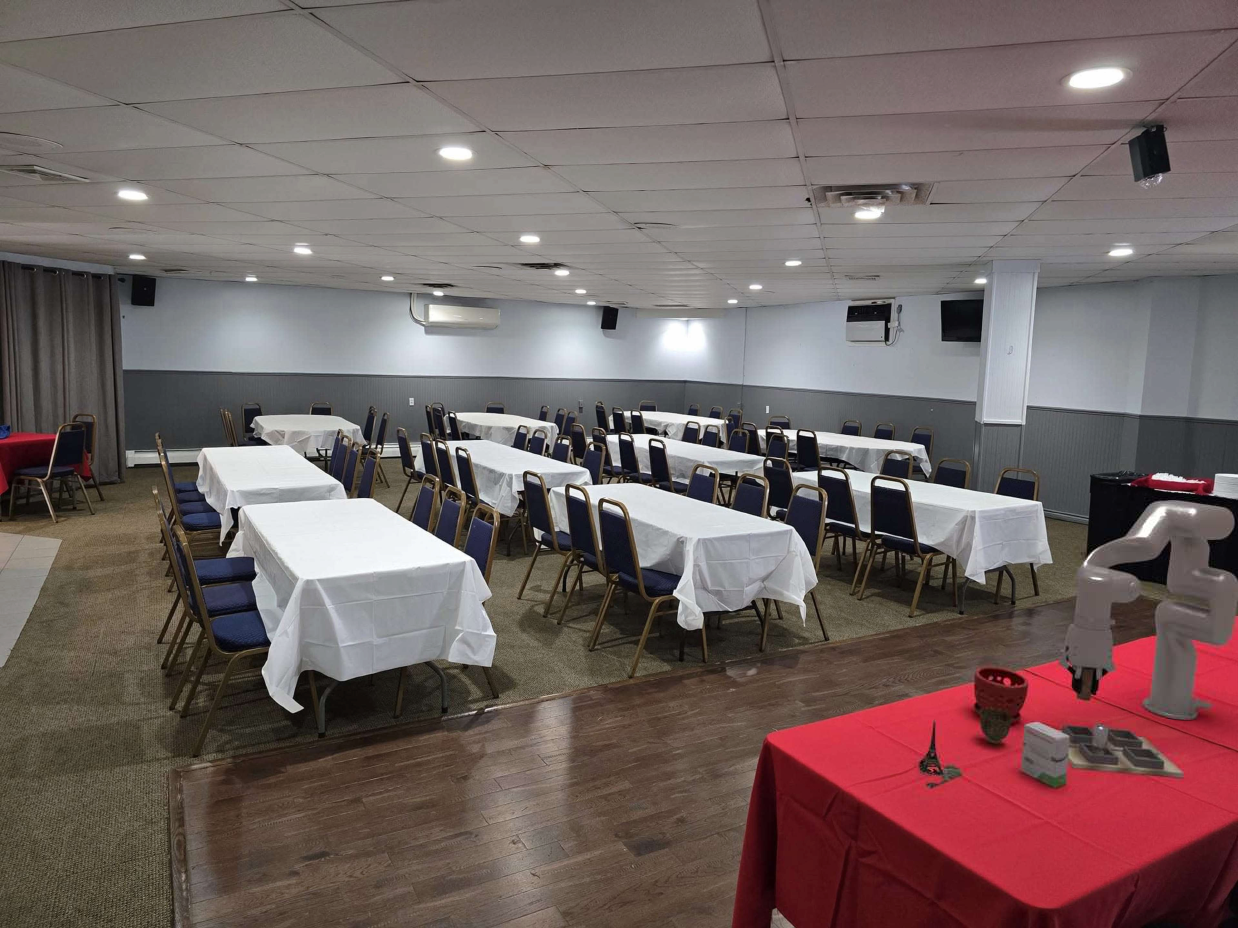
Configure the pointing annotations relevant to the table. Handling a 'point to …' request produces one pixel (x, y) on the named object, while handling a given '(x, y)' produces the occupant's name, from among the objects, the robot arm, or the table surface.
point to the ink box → (1045, 754)
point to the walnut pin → (1086, 683)
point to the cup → (995, 724)
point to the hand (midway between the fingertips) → (1084, 691)
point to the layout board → (1116, 752)
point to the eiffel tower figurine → (937, 764)
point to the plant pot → (1000, 691)
